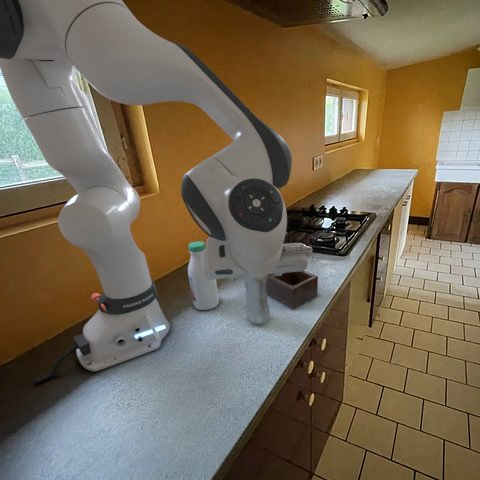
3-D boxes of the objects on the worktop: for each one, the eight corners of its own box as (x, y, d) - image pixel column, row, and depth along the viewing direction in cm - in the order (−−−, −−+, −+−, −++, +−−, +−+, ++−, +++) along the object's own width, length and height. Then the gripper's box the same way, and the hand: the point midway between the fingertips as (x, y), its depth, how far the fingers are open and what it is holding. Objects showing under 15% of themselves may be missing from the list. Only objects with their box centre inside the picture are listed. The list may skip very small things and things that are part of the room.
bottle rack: (293, 309, 89) (292, 289, 86) (250, 285, 103) (248, 267, 99) (317, 295, 95) (318, 276, 92) (273, 274, 109) (273, 257, 106)
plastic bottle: (267, 328, 82) (263, 261, 72) (243, 325, 83) (236, 259, 74) (272, 314, 87) (269, 250, 78) (250, 312, 88) (244, 249, 79)
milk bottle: (223, 298, 96) (215, 239, 86) (212, 312, 89) (202, 250, 80) (201, 296, 98) (191, 238, 88) (189, 309, 91) (176, 248, 82)
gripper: (311, 229, 55) (300, 257, 68) (197, 239, 53) (209, 265, 66) (317, 262, 53) (305, 283, 66) (198, 273, 51) (210, 293, 64)
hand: (256, 274), depth 66 cm, fingers open, 8 cm apart
